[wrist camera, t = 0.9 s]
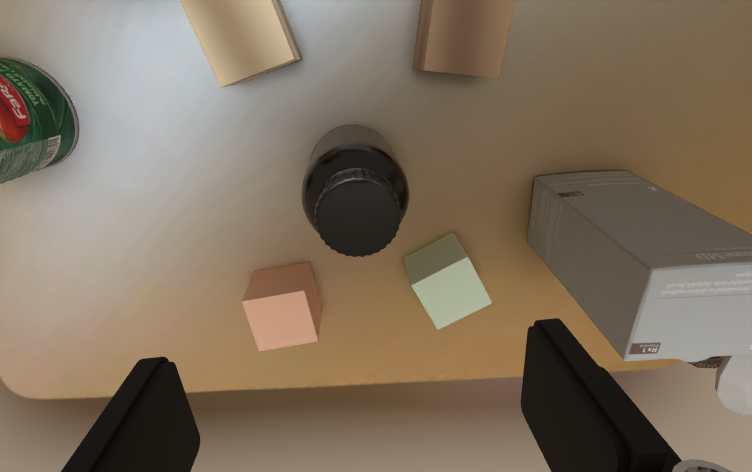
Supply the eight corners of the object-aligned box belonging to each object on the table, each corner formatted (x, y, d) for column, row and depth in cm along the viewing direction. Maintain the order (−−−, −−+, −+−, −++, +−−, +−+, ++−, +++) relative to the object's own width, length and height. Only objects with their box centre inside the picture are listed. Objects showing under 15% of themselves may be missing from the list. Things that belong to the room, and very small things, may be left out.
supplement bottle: (346, 221, 35) (344, 295, 24) (293, 158, 32) (265, 208, 21) (411, 174, 33) (442, 229, 22) (361, 104, 31) (369, 129, 20)
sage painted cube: (452, 231, 36) (467, 256, 31) (474, 273, 38) (492, 303, 33) (403, 257, 37) (410, 285, 32) (427, 297, 38) (438, 329, 34)
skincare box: (625, 167, 34) (826, 246, 20) (609, 243, 37) (776, 360, 23) (527, 174, 34) (660, 258, 20) (519, 250, 37) (630, 372, 22)
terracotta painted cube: (309, 261, 36) (304, 290, 32) (321, 307, 38) (318, 341, 34) (255, 270, 36) (241, 301, 32) (270, 316, 38) (259, 351, 34)
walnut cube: (490, 1, 29) (517, -11, 24) (476, 76, 31) (499, 78, 26) (421, -8, 28) (436, -21, 24) (412, 68, 30) (423, 70, 26)
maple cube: (273, -16, 28) (258, -32, 23) (302, 59, 30) (294, 58, 25) (207, 10, 28) (179, 1, 23) (240, 83, 30) (220, 87, 25)
